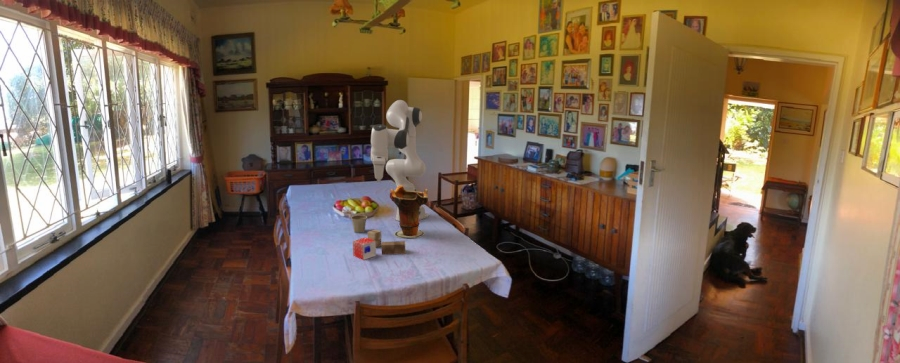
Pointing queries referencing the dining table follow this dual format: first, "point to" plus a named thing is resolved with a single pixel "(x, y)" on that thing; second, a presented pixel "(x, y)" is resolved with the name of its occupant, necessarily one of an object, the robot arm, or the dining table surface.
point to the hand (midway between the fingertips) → (378, 181)
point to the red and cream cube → (364, 248)
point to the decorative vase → (408, 211)
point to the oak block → (375, 237)
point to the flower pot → (359, 223)
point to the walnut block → (393, 247)
